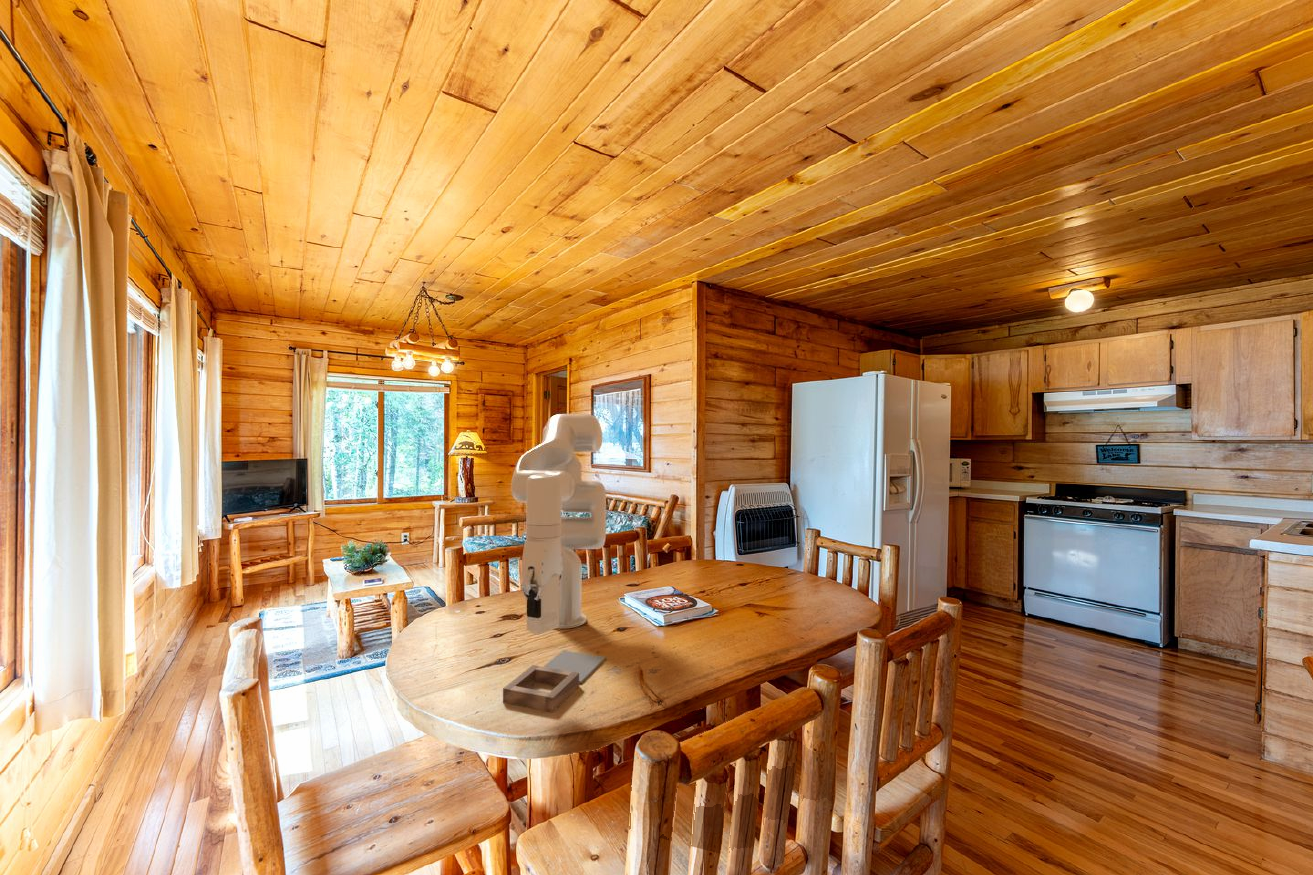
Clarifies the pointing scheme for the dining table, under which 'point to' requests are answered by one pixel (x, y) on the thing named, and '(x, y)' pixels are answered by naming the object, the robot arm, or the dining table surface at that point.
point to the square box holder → (540, 699)
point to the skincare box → (546, 608)
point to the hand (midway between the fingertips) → (543, 610)
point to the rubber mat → (576, 663)
